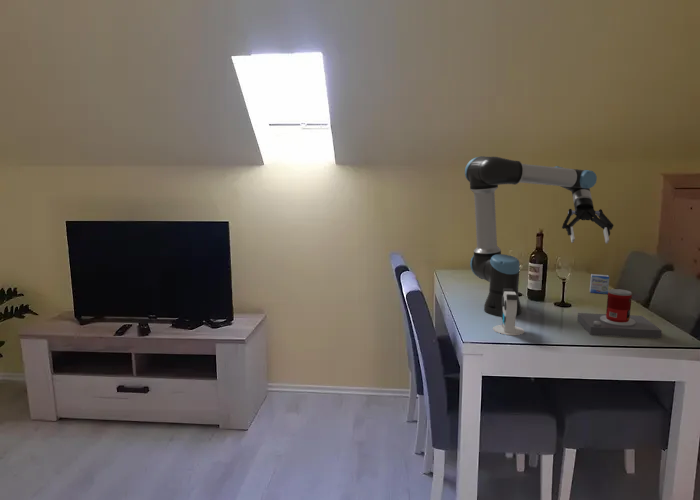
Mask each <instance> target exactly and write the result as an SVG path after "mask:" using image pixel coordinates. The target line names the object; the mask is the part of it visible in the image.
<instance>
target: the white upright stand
mask: <svg viewBox="0 0 700 500" xmlns="http://www.w3.org/2000/svg"><path fill="white" fill-rule="evenodd" d="M502 307H503V312H502V316H501V320H502V321H501V322H502V324H498V325H497V324H496V325H494V326H493V327H492V330H494V331H493V332H495V333H497V332H498V333H497V334H499V333H501V334H500V335H503V334H506V336H521V335H523V334H525V330H524V328H522V327H520V326H517V325H516V318H517V315H516V313H517V295H516V293H515V292H513V289H506V288H504V289H503V296H502ZM520 334H521V335H520Z"/></svg>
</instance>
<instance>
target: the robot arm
mask: <svg viewBox="0 0 700 500" xmlns="http://www.w3.org/2000/svg"><path fill="white" fill-rule="evenodd" d="M464 169H465V170H464V176H465V179H466V180H467V181H468V182H469V190H470V191H472V192H473V198H474V200H473V201H474V215H475V216H474V217H475V232H476V233H475V235H476V247H475V249H473V255H472V257H471V259H470V265H469V266H470V269H471V272H472V273H473V274H474V275H475V276H476V277H478V278H479V279H481V280H484V281H487V282H489V288H488V289H489V291H488V292H489V293H488V295H487V297H486V300H485V302H484V305H483V311H484V312H486V313H488V314H491V315H494V316H499V317H502V312H503V307H502V296H503V289H504V288H506V289H513V292H515V293H516V295H517V313H516V316H519V315H521V314H522V304H521V301H520V297H519V285H520V284H519V283H520V282H519V280H520V271H521V268H520V267H521V266H520V265H521V264H520V260H519V259H518V258H517V257H515V256H512V255H509V254H503V253H502V249H501V248H500V247H499V246H498V240H497V238H498V237H497V236H498V235H497V219H496V218H497V215H496V198H495V197H496V195H495V192H496V190H497V189H498V188H499V186H500V185H518V184H519V183H520V184H521V183H522V184H534V185H545V186H556V187H557V186H558V187H561V188H563V189H565V190H568V191H570V192H571V195H572V200H573V207H574V210H572V208H569V209H568V211H567V215H566V218H565V219H564V222H563V224H562V226H561V229H564V230H565V231H566V232H567V236H569V237H570V242H571V244H572V243H574V242H575V240H576V237H575V233H574V225H575V224H576V223H577V222H579V221H580V220H581V221H591V222H593V223H594V224H596V225H598V226H599V227H600V228H601V229H603V230H602V232H603V237H604V243H605V244H606V245H607V244H609V242H610V235H611V230H613V228H614V226H615V225H614V224H613V222H612V221H611V220H610V219H609V218H608V216H606V215H605V214H604V212H603V209H598V210H595V207H594V203H593V197H592V193H591V192H592V191H591V189H592V188H593V187H594V186H595V185H596V184H597V175H596V173H595V172H594V171H593V170H588V169H575V168H569V167H568V168H567V167H563V166H559V165H558V166H557V165H556V166H546V165H537V164H536V165H535V164H526V163H522V162H521V161H520V160H513V159H508V158H503V157H498V156H484V155H483V156H477V157H474V158H471V160H469V161H468V163H467V164H466V166H465V168H464ZM574 215H575V217H574V218H573V219H572V220H571V221H570V222H569V220H570V219H571V217H572V216H574Z"/></svg>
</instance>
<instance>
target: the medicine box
mask: <svg viewBox="0 0 700 500" xmlns="http://www.w3.org/2000/svg"><path fill="white" fill-rule="evenodd" d="M609 285H610V276H609V275H608V274H598V273H597V274H596V273H595V274H594V273H590V283H589V293H591V294H601V295H608V290H609Z"/></svg>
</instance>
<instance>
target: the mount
mask: <svg viewBox="0 0 700 500" xmlns="http://www.w3.org/2000/svg"><path fill="white" fill-rule="evenodd" d="M577 322H578V323H579V324H580V325H581V326H582V328H584V330H585V331H586V332H587V333H588V334H589V335H590V336H602V337H603V336H606V337H623V338H625V337H627V338H645V339H646V338H647V339H661V338H662V329H660V327H658V326H656V325H655V324H654V323H653V322H652V321H650V320H648V319H647V318H646V317H644V316H643V315H632V314H630V319H629V321H628V322H614V321H610V320H608V319H607V318H606V313H587V312H586V313H585V312H578V313H577Z"/></svg>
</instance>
